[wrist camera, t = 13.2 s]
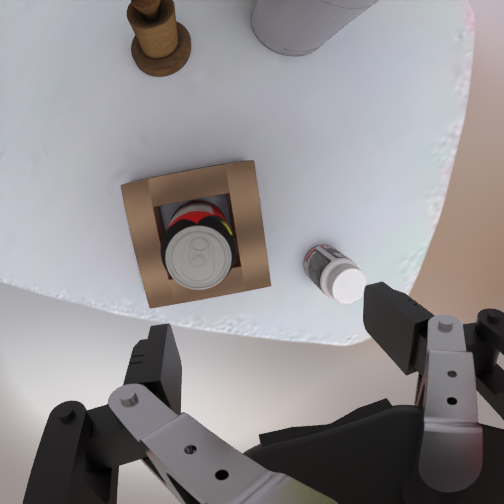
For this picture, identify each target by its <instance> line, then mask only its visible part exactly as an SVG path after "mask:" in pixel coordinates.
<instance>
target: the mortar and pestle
mask: <svg viewBox="0 0 504 504" xmlns="http://www.w3.org/2000/svg"><path fill="white" fill-rule="evenodd" d="M127 18H128V21H129V23H130V25H131V26H132V28H133V31H134V33H135V37H134V39H133V41H132V45H131V52H132V56H133V59H134V61H135V62H136V64H137V66H138V67H139V68H140V69H141V70H142V71H143V72H145V73H146V74H149V75H152V76H167V75H170V74H173V73H175V72H177V71H178V70H179V69H181V68H182V67H183V66H184V64H185V63H186V62H187V60H188V58H189V55H190V52H191V39H190V35H189V33H188V31H187V29H186V28H185V27H184V26H183V25H182V24H180V23H178V22H176V16H175V6H174V2H173V0H131V3H130V5H129V6H128V9H127Z"/></svg>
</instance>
